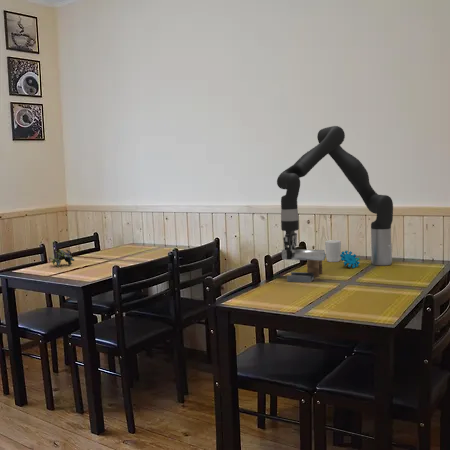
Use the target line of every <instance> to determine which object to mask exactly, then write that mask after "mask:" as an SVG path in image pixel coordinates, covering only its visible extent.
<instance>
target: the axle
mask: <svg viewBox="0 0 450 450" xmlns="http://www.w3.org/2000/svg"><path fill="white" fill-rule="evenodd" d="M325 258H326V250H325V249H296V248H294V249H292V259H287V251H286V250H285V248H283V249H282V250H281V259H282V260H286V261H287V260H288V261H307V260H322V261H325Z"/></svg>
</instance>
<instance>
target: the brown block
mask: <svg viewBox="0 0 450 450" xmlns="http://www.w3.org/2000/svg"><path fill="white" fill-rule="evenodd" d="M306 265H307V273H314V278H319V277H320V274H321V275H322V274H323V260H306Z"/></svg>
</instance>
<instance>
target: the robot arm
mask: <svg viewBox="0 0 450 450" xmlns="http://www.w3.org/2000/svg"><path fill="white" fill-rule="evenodd" d="M345 138H346V134H345V131H344V129H343V128H342V127H341V126H340V125H339V126H338V125H332V126H328V127H324V128H321V129H319V131H318V133H317V142H318V144H317V145H315V146H314V147H312V148H311V149H309V150H308V151H307V152H305V153H303V154H302V155H301V156H300V157H299V158H298V159H297V161H295V163H294V164H292V165H291V166H289V167H287V168H286V169H285V170H284V171H282V172H281V173H279V175H278V176H277V180H276V185H277V187H278V188H279V189H281V190H286V192H285V195H282V196H281V198H280V224H281V225H280V227H281V231H283V232H285V234H284V236H283V247H284V248H283V249H285V250H286V251H287V259H292V249H296V247H297V238H298V237H297V236H298V233H297V232H295V231H298V230H299V228H300V225H299V223H300V222H299V210H298V197H299V194H300V193H299V192H300V190H301V189H300V188H301V178H303V177H305V176H307V175H308V174H309V172H310V171H311V170H312V169H313V168H314V167H315V166H316V165H317V164H318V163H319V162H321V160H322V159H324V158H325V157H326V156H327V155H329V156H330V158H331V159H332V161H334V163H335V164H336V165H337V167H339V169H340V170H341V172H342V173H343V175H344V176H345V177H346V179H347V180H348V182H350V184H351V185H352V186H353V188H354V190H355V191H356V193H358V195H359V197H360V198H361V199H362V202H363V203H364V205H365V206H366V208H367V210H368V211H369V212H370V213H372V214H376V218H375V220H373V221H372V222H371V223H370V248H371V249H370V250H371V265H374V266H392V263H393V253H392V252H393V250H392V249H393V244H392V223H393V217H394V216H393V215H394V202H393V199H392V197H391V196H389V195H387V194H378V193H377V192H376V191H375V190H374V189H373V186H372V185H371V182H370V177H369V172H368V170H367V169H366V167H365V166H364V164H363V163H362V162H361V160H359V159H358V157H356V156H354V155H353V154H351V153H349V152H348V151H346V150H345V149H344V148H343V147H342V146H341V145H342V144H343V142H344V141H345Z"/></svg>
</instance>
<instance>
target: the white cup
mask: <svg viewBox="0 0 450 450" xmlns="http://www.w3.org/2000/svg"><path fill="white" fill-rule="evenodd" d="M324 245H325V246H324V247H325V248H324V249H325V258H326V262H330V263H336V262H340V261H341V257H340V255H341V254H342V251H341V250H342V241H341V240H339V239H331V240H330V239H329V240H325V241H324Z"/></svg>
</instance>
